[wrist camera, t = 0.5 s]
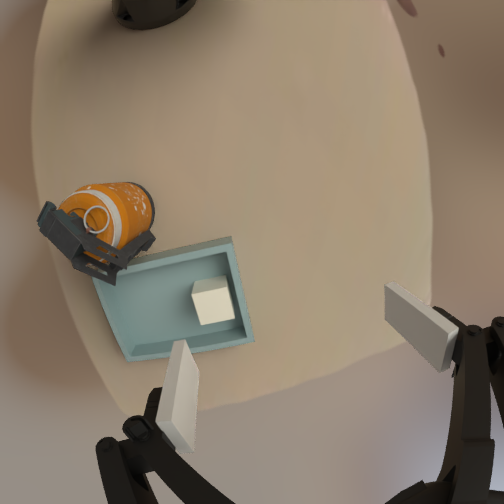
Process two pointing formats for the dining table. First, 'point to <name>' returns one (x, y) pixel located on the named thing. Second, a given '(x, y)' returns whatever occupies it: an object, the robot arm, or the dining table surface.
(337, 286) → the dining table surface
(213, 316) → the cream cube
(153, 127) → the dining table surface
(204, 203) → the dining table surface
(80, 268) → the canister
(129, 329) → the teal tray
